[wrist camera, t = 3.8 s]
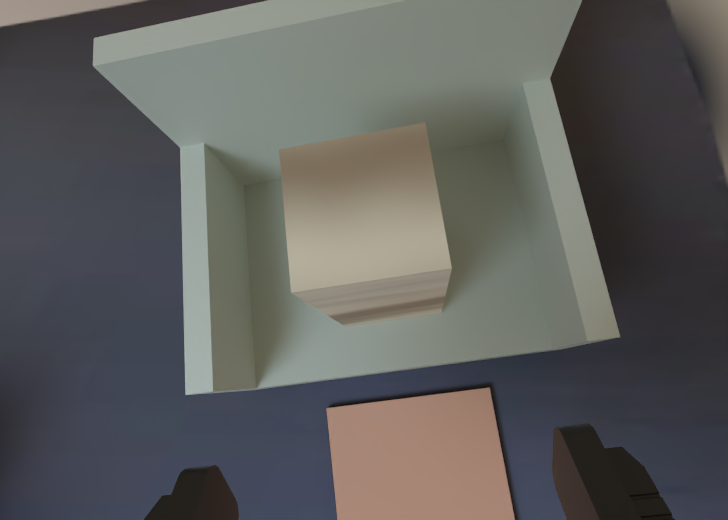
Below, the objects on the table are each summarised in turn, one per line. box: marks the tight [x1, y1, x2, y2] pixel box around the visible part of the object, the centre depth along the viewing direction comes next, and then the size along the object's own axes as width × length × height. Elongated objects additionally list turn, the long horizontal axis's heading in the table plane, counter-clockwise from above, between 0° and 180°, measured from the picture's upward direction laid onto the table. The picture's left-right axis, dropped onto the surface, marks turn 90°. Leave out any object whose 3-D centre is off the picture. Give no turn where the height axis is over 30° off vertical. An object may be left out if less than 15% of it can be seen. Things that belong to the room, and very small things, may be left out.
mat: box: [327, 388, 515, 520], centre depth 24 cm, size 9×9×1 cm
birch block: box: [279, 123, 452, 327], centre depth 19 cm, size 5×5×10 cm
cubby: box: [93, 0, 620, 395], centre depth 21 cm, size 13×17×14 cm
